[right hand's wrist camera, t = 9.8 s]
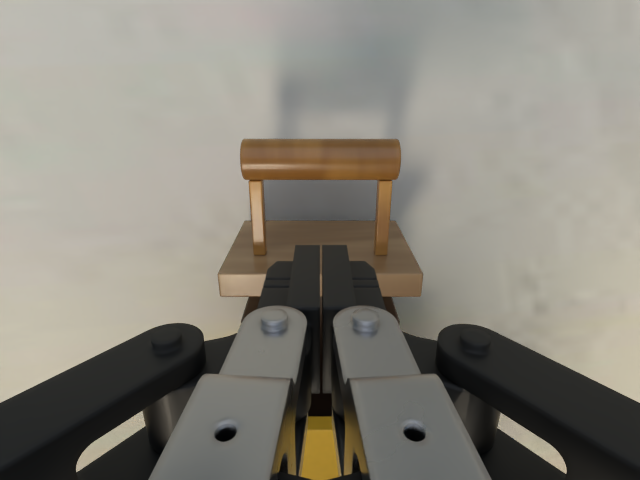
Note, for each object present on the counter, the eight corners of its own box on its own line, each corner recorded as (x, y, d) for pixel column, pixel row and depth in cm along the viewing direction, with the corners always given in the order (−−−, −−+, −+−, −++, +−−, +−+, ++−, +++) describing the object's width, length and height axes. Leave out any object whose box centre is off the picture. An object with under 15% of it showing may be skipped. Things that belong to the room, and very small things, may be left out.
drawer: (237, 126, 23) (204, 147, 16) (402, 126, 23) (437, 147, 16) (259, 421, 31) (242, 516, 24) (380, 421, 31) (397, 516, 24)
